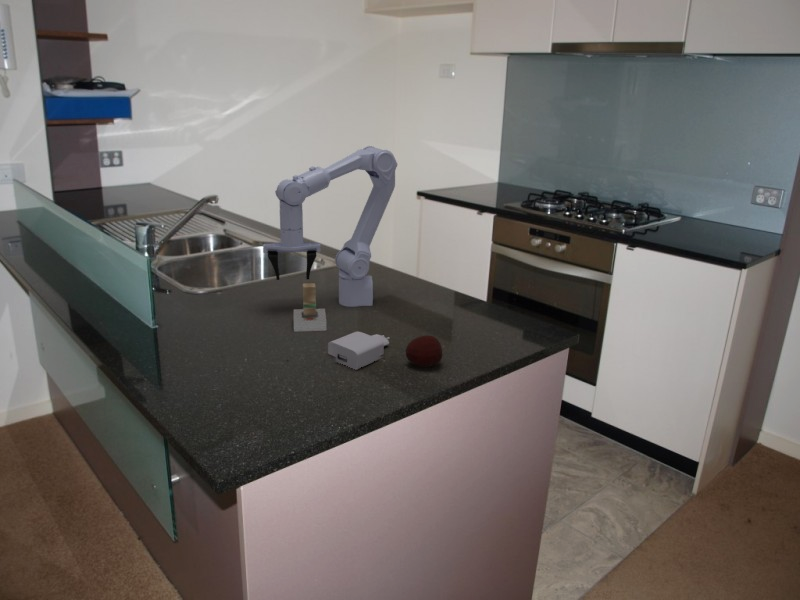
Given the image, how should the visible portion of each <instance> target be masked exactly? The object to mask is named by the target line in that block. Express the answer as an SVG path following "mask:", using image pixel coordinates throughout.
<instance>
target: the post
mask: <svg viewBox="0 0 800 600" xmlns="http://www.w3.org/2000/svg"><path fill="white" fill-rule="evenodd" d="M316 295H317V294H316V282H315V283H314V282H313V283H312V282H311V283H302V309H304V315H316V309H317V300H316V298H317V297H316Z"/></svg>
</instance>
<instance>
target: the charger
mask: <svg viewBox="0 0 800 600" xmlns="http://www.w3.org/2000/svg"><path fill="white" fill-rule="evenodd" d="M389 340H390V337H389V336H388V337H385V335H384V334H383V335H381V334H377V333H376V334H372V335H370V334H368V333H364V332H362V331H353V332H352V333H349V334H347V335H344V336H342V337H339V338H337V339H334V340H331V341H329V342H328V343H327V354H328V355H330V356H333V357H328V359H329V360H330V359H331V360H330V361H332V362H335V361H336V362H335V363H337V362H338V364H340V363H341V364H340V365H342V364H343V365H342V366H344V365H346V366H345V367H347V366H348V367H347V368H349V367H350V368H349V369H351V368H353V369H352V370H354V369H355V370H354V371H357V370H359V369H361V367H362V368H364V367H365V366H367V365H370V364H372V363H374V361H375V362H376V361H379V360H380V359H384V354H385V353H384V350H385V349H384V347H385V346H389V344H390V341H389Z"/></svg>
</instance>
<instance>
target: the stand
mask: <svg viewBox="0 0 800 600" xmlns="http://www.w3.org/2000/svg"><path fill="white" fill-rule="evenodd" d="M326 315H327V314H326V308H316V315H304V309H303V308H302V309H301V308H299V309H295V308H294V309H293V332H298V333H299V332H325V331H326V332H327V316H326Z"/></svg>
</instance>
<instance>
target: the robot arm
mask: <svg viewBox="0 0 800 600" xmlns="http://www.w3.org/2000/svg"><path fill="white" fill-rule="evenodd" d="M397 167H398V162H397V160H396V158H395V156H394V154H393V153H392V152H391V151H390V150H388V149H381V148H377V147H374V146H372V145H371V146H370V145H367V146H365V147H363V148H359V149H357V150H356V151H355V152H352V153H351V154H349V155H347V156H346V157H344V158H342V159H340V160H338V161H336V162H335V163H333V164H331V165H329V166H327V167H325V168H322V167H320V166H314V165H313V166H310V167H309V168H308V171H306V172H303V173H301V174H299V175H297V174H295V175H293V176H292V179H289V178H287V179H284V180H281V181H280V182H279V183H278V185H277V186H276V189H275V192H274V193H275V196H276V197H277V199H278V200H279V229H280V230H279V231H280V233H279V234H280V235H279V236H280V242H274V243H273V242H272V243H263V245H262V247H263V249H262V250H263V251H262V253H263V254H267V257H268V260H269V262H270V263H271V265H272V267H273V270H274V273H275V277H276V281H280V278H281V277H280V269H279V268H280V267H279V253H302V252H303V253H306V271H305V272H306V276H305V278H306V280H310V275H311V271H312V267H313V265H314V262H315V260H316V258H317V253H321V252H322V251H321V243H319V242H317V243H316V242H304V223H303V222H304V221H303V219H304V217H303V203H305V200H306V199H307V198H309V197H310V196H312V195H315V194H317V193H319V192H321V191H323V190H325V189H328V187H329V185H330V183H331V181H333V180H335V179H337V178H340V177H342V176H345V175H347V174H350V173H352V172H354V171H357V170H361V171H365V172H366V173H367V174H368V176H369V178H370V180H371V182H372V186H373V187H372V188H371V190H370V193H369V196H368V198H367V200H366V202H365V205H364V208H363V209H362V212H361V214H360V217H359V219H358V222H357V224H356V226H355V229H354V231H353V234H352V236H351V238H350V239H348V240H347V241H346V242H345V243H343V246H342V248H341V249H340V250H339V251H338V252H337V253H336V256H335V257H334V258H335V259H334V263H335V266H336V267H337V268H338V269H339V270H338V271H339V272H338V304H339V305H341V306H343V307H348V308H355V307H361V306H362V307H365V306H366V307H369V306H370V307H371V306H373V300H374V296H373V292H374V286H373V285H374V283H373V276H372V275H370V274H369V275H367V274H368V272H369V270H370V260H371V258H372V252H371V248H370V246H371V243H372V242H373V240H374V237H375V234H376V232H377V231H378V227H379V225H380V222H381V221H382V219H383V217H384V213H385V211H386V209H387V206H388V205H389V202H390V199H391V198H392V194H393V193H394V190H395V187H396V169H397Z"/></svg>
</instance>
